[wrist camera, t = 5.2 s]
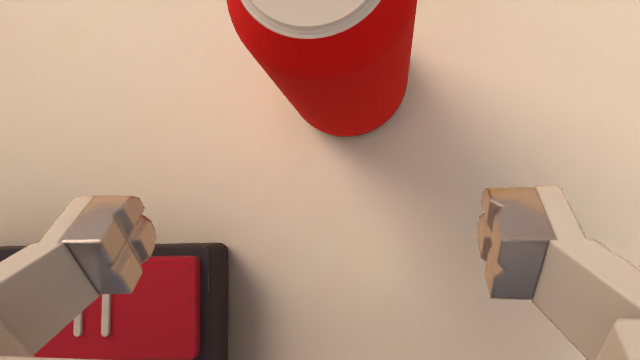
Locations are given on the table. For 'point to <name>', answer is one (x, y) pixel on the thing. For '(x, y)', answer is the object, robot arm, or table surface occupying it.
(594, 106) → the table surface
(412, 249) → the table surface
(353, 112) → the beverage can
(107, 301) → the calculator
